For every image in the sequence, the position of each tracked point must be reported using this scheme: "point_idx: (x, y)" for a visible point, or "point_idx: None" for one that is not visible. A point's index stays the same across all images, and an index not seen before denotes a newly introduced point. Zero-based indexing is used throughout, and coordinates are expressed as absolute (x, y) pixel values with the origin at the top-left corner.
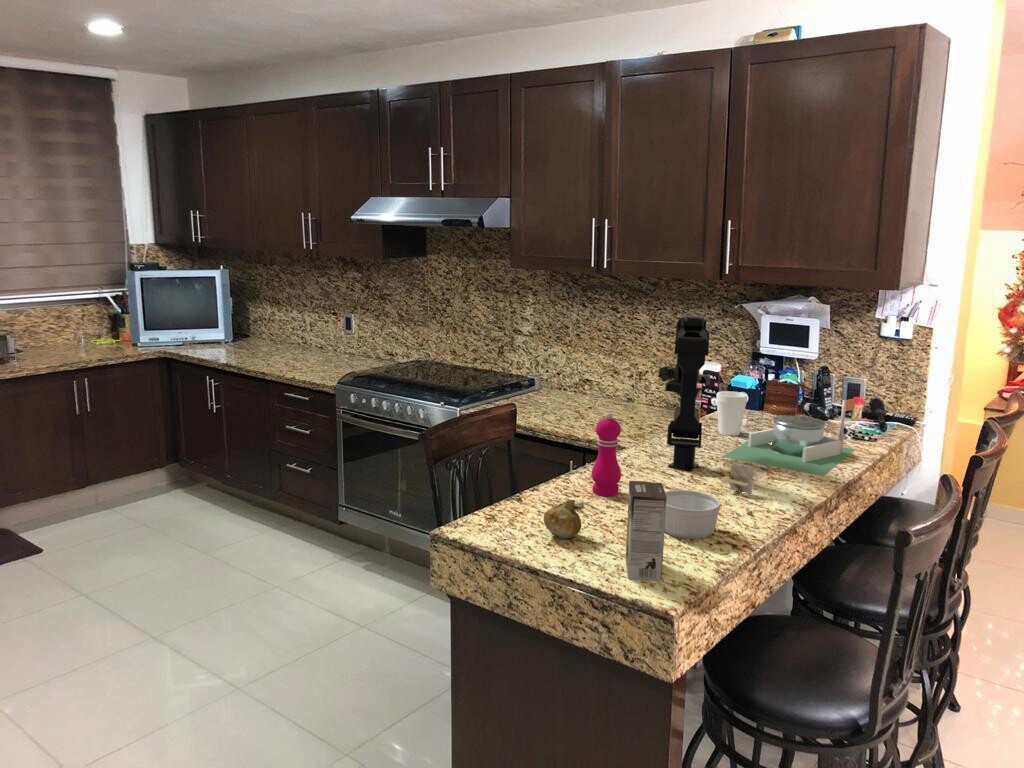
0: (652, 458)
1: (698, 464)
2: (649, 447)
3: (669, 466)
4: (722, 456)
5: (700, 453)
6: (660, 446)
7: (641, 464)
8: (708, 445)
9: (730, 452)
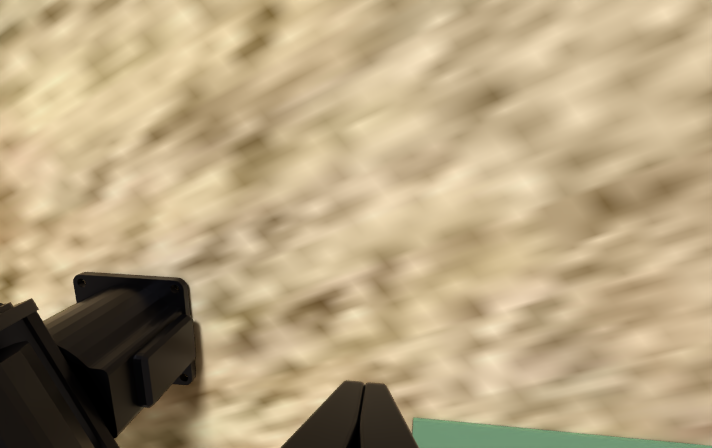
0: (159, 144)
1: (189, 382)
2: (363, 13)
3: (77, 281)
4: (423, 424)
5: (426, 315)
6: (433, 62)
7: (27, 146)
8: (639, 298)
9: (529, 437)
